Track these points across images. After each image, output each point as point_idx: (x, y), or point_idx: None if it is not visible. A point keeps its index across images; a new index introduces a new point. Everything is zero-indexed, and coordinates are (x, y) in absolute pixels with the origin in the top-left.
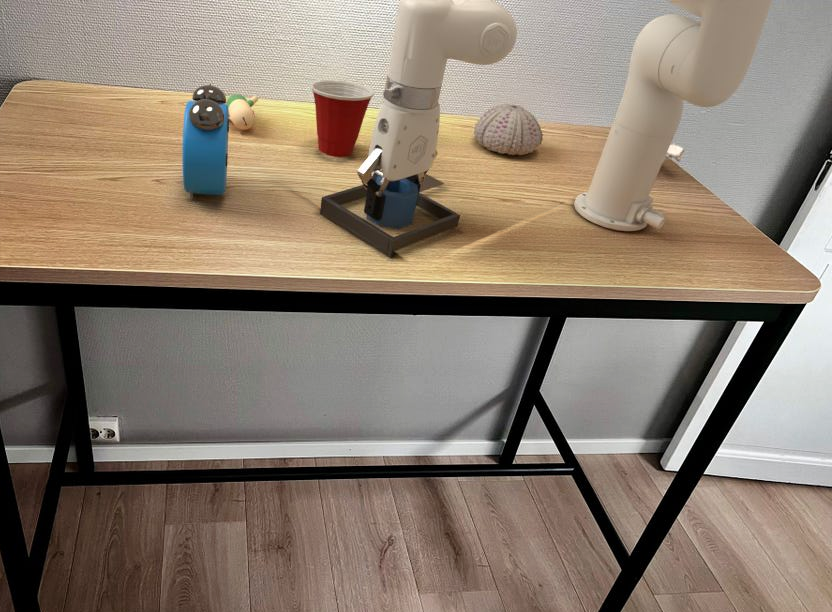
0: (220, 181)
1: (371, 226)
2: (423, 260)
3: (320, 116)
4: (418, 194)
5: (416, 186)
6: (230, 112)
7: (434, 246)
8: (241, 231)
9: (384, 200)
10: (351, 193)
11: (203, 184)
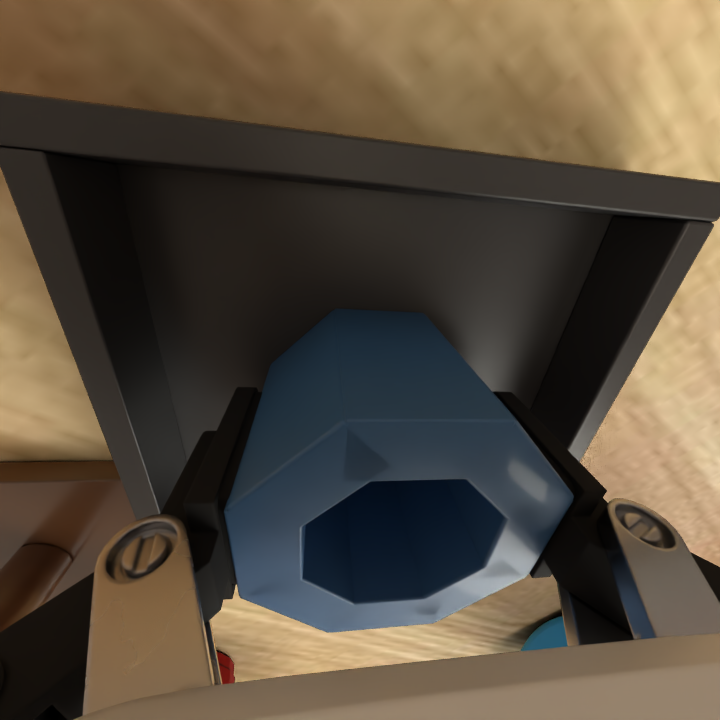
0: None
1: (632, 362)
2: (555, 32)
3: None
4: (217, 439)
5: (255, 497)
6: None
7: (365, 99)
8: (686, 520)
9: (568, 465)
10: None
11: None
